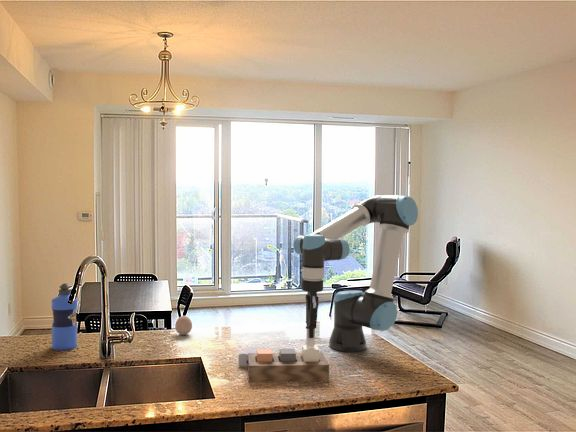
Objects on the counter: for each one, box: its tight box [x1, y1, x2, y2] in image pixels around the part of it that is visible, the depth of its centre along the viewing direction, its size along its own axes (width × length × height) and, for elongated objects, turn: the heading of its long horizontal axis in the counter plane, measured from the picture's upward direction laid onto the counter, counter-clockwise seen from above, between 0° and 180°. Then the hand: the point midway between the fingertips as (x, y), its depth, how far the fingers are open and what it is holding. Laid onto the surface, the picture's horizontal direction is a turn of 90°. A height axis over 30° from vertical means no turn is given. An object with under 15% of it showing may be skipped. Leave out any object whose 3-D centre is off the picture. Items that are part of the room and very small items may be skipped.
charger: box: [238, 346, 268, 367], centre depth 194 cm, size 5×9×15 cm
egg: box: [174, 315, 193, 336], centre depth 224 cm, size 7×7×8 cm
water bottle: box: [51, 283, 79, 352], centre depth 202 cm, size 9×9×25 cm
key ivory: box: [301, 344, 320, 362], centre depth 180 cm, size 5×5×6 cm
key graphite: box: [278, 348, 297, 362], centre depth 180 cm, size 5×5×6 cm
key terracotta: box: [256, 348, 274, 362], centre depth 179 cm, size 5×5×6 cm
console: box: [247, 352, 330, 383], centre depth 180 cm, size 27×13×6 cm, turn 96°
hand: (310, 346), depth 180 cm, fingers closed
